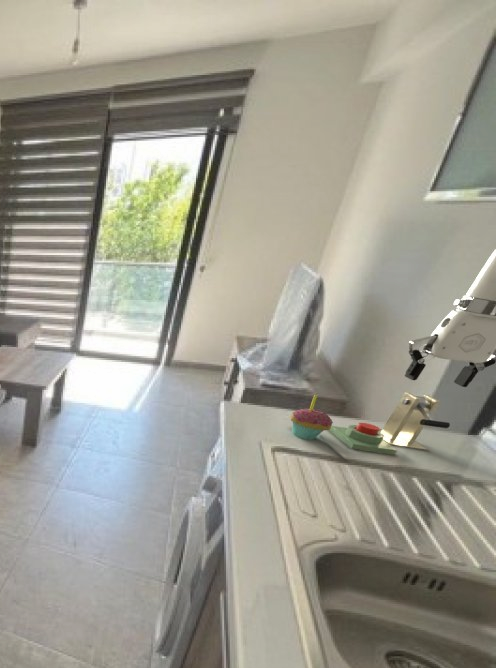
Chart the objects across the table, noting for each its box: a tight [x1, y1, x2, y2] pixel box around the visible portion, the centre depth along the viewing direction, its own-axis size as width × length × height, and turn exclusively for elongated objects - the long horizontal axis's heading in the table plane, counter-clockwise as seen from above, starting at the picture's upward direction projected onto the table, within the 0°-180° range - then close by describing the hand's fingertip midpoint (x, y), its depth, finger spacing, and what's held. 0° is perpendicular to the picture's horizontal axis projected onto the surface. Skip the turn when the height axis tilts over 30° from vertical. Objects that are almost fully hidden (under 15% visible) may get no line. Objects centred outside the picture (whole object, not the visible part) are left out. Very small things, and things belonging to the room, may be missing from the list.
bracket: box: [379, 392, 441, 451], centre depth 122 cm, size 10×8×13 cm
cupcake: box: [289, 391, 334, 440], centre depth 123 cm, size 9×8×12 cm
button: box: [356, 422, 380, 436], centre depth 120 cm, size 4×4×2 cm
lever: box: [415, 395, 451, 429], centre depth 117 cm, size 10×5×2 cm, turn 163°
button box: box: [329, 424, 397, 456], centre depth 121 cm, size 11×9×4 cm
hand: (434, 381), depth 112 cm, fingers open, 9 cm apart
